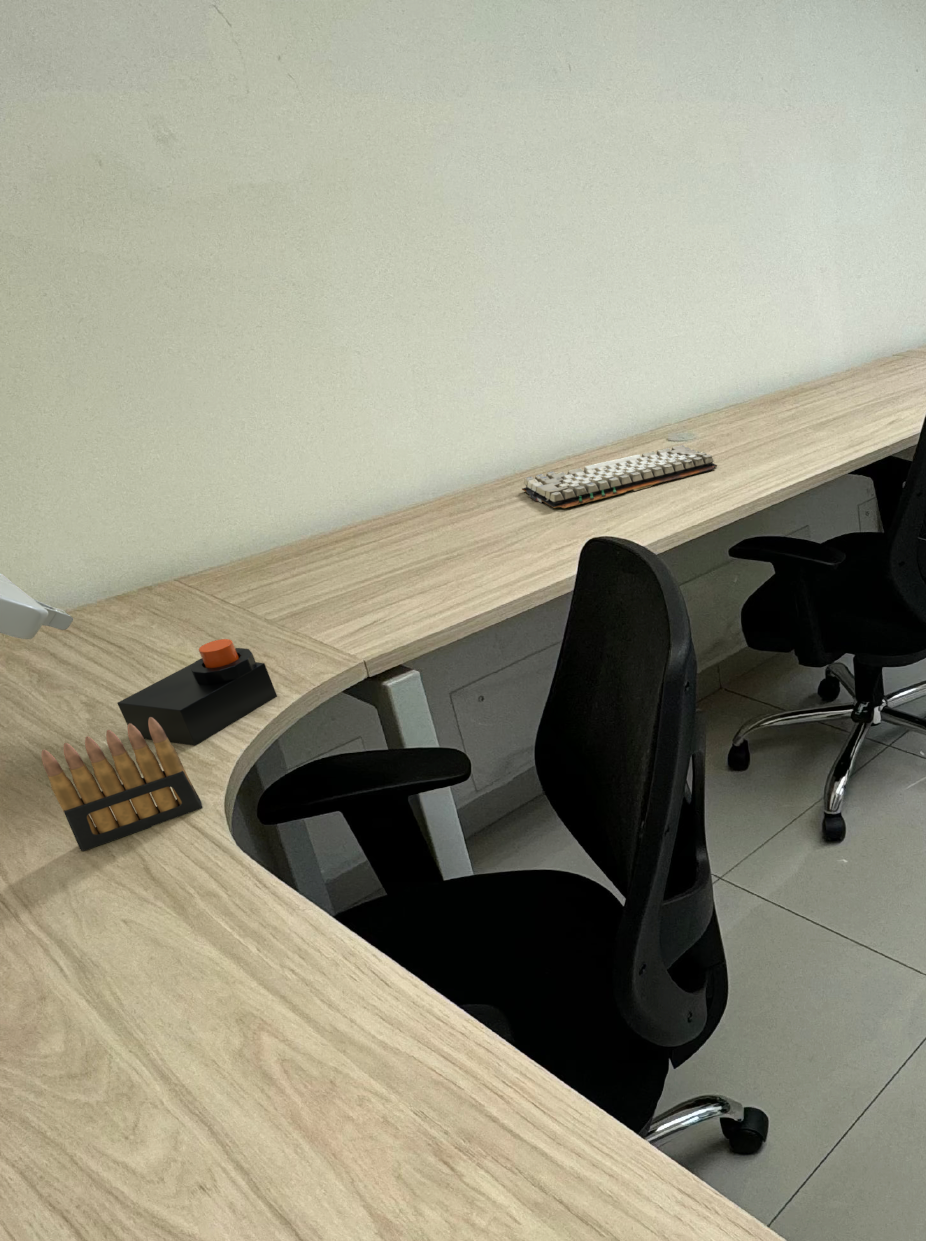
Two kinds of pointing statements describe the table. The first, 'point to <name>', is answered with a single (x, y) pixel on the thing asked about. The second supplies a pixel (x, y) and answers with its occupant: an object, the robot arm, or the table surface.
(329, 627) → the table surface
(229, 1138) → the table surface
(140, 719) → the push button box
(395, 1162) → the table surface
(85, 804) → the ammunition clip
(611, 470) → the mechanical keyboard
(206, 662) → the orange push button
